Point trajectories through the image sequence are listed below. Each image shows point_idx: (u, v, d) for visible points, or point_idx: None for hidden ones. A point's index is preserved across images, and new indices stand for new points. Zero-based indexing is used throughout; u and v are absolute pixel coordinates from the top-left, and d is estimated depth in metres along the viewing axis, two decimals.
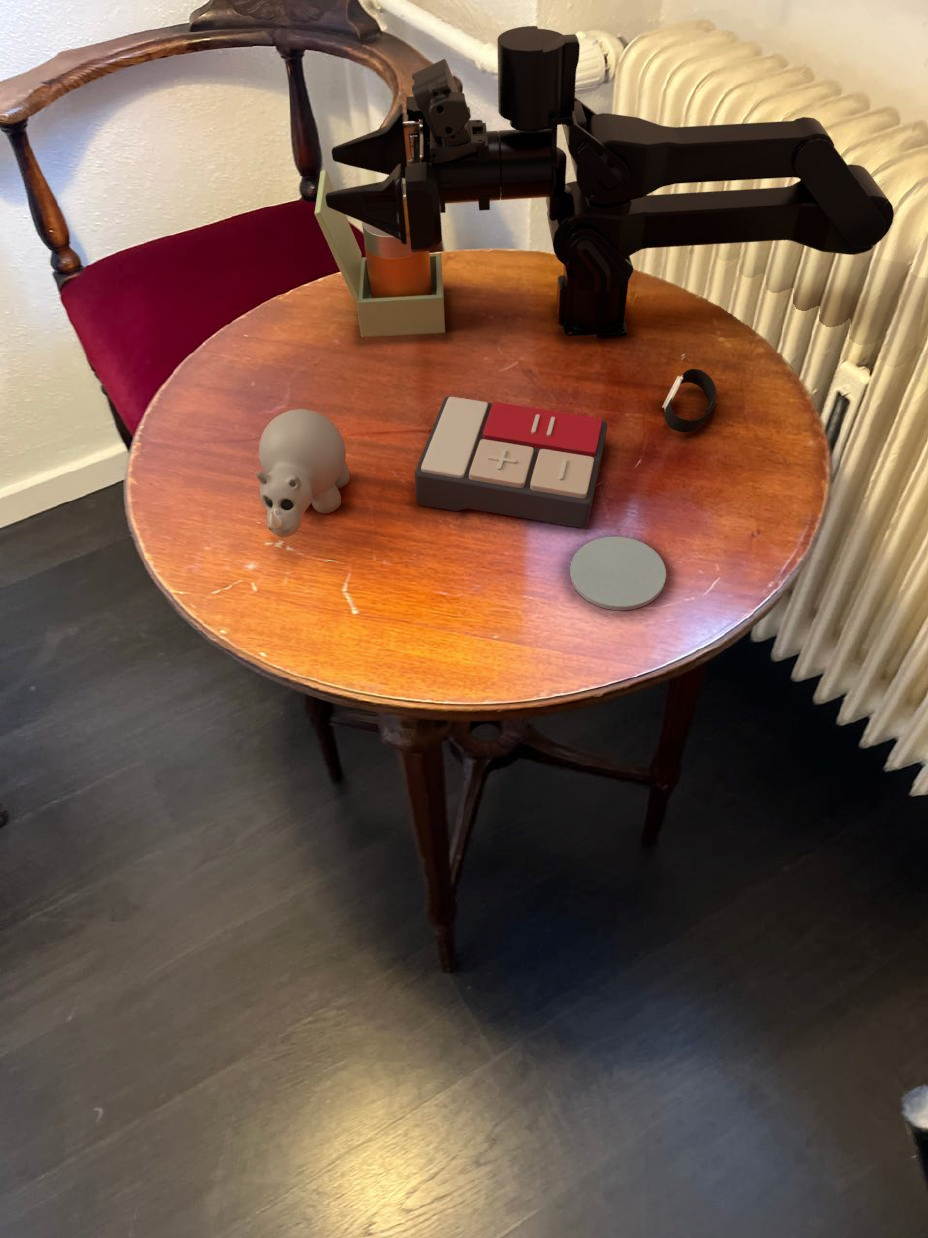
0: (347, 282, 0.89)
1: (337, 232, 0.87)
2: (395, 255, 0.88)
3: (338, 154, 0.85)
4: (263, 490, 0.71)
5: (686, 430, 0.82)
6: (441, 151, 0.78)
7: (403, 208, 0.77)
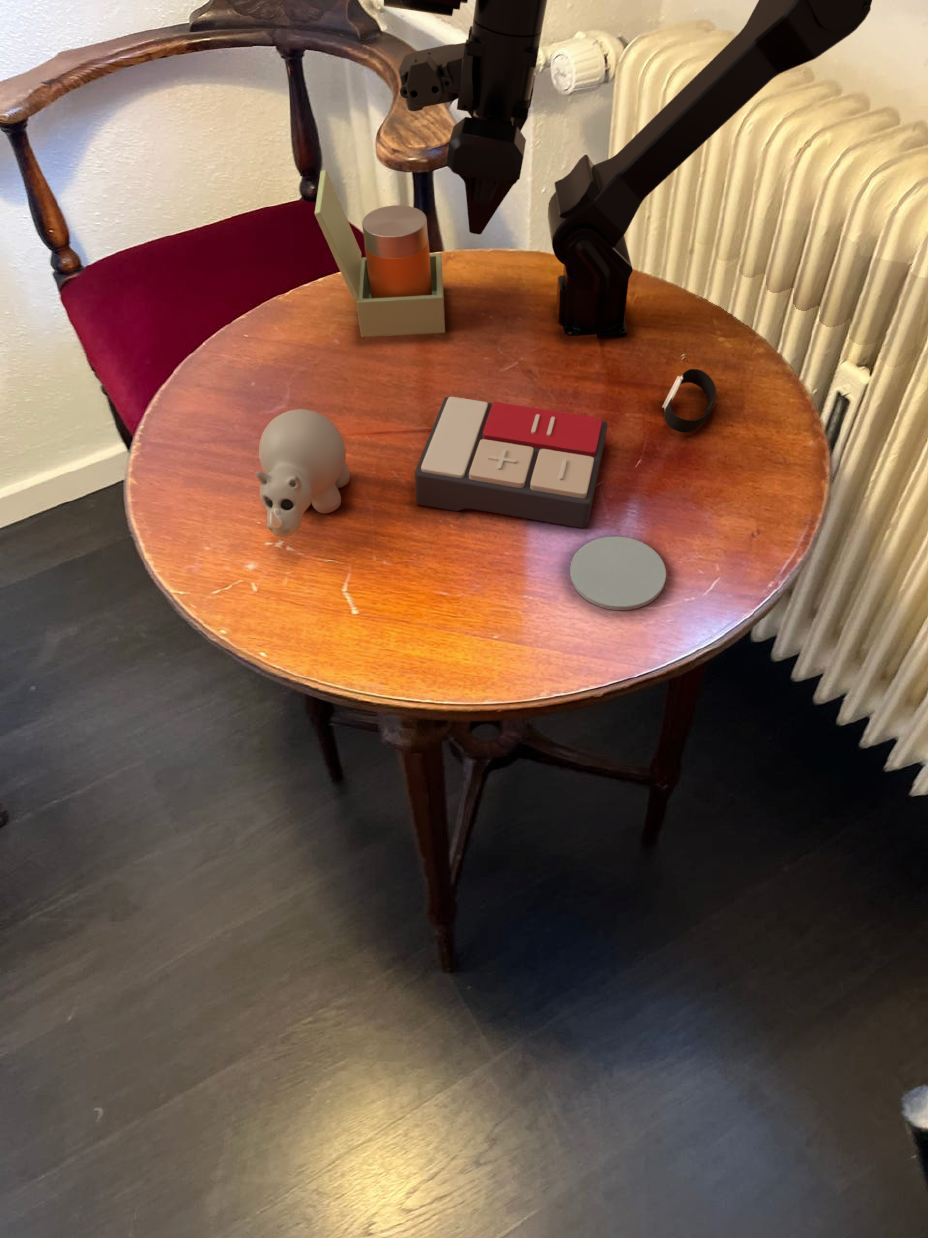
0: (347, 282, 0.89)
1: (337, 232, 0.87)
2: (395, 255, 0.88)
3: None
4: (263, 490, 0.71)
5: (686, 430, 0.82)
6: (462, 98, 0.75)
7: None
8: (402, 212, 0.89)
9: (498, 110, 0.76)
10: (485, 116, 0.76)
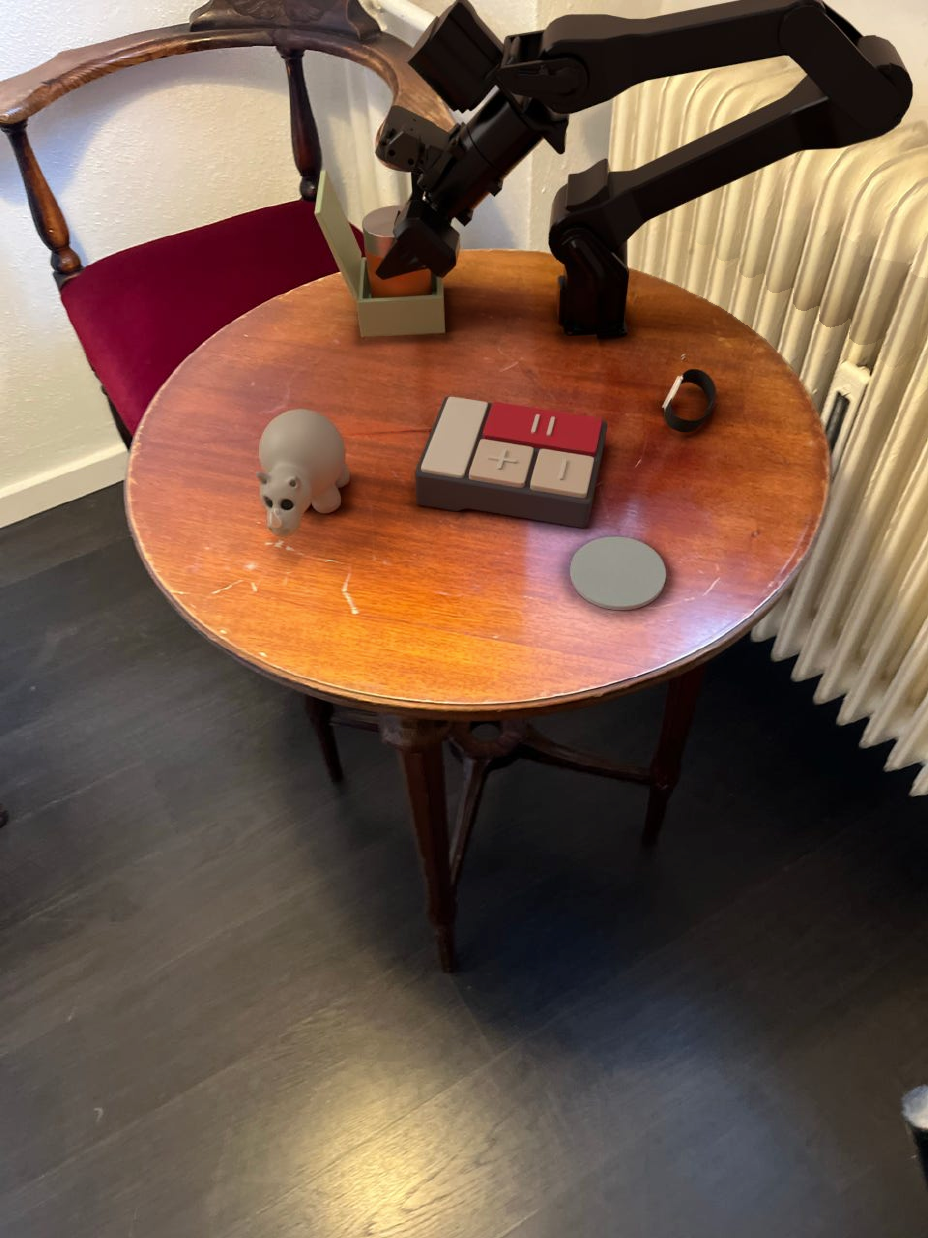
0: (347, 282, 0.89)
1: (337, 232, 0.87)
2: None
3: None
4: (263, 490, 0.71)
5: (686, 430, 0.82)
6: (426, 179, 0.82)
7: None
8: None
9: (448, 206, 0.84)
10: (435, 203, 0.84)
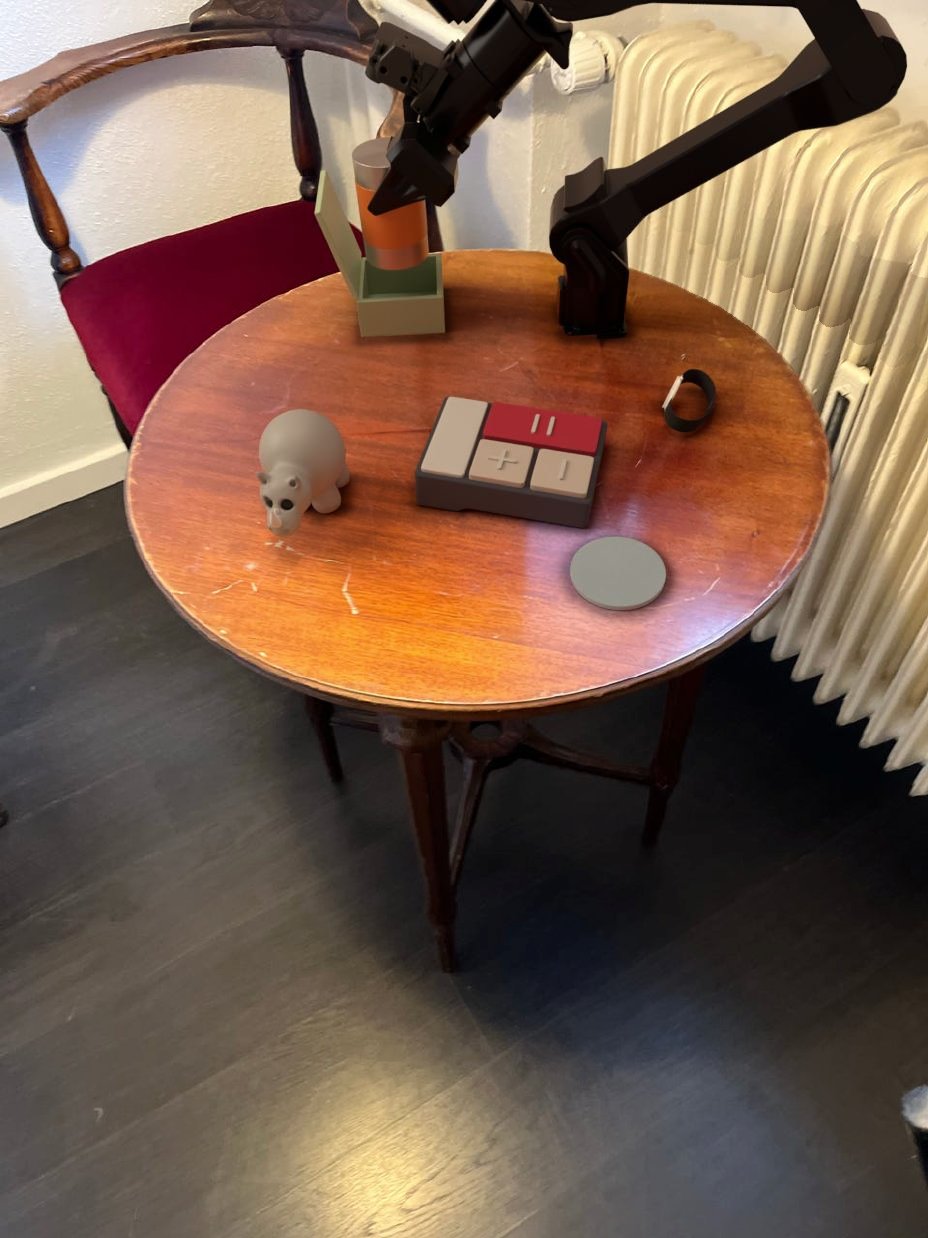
0: (347, 282, 0.89)
1: (337, 232, 0.87)
2: None
3: None
4: (263, 490, 0.71)
5: (686, 430, 0.82)
6: (420, 100, 0.76)
7: None
8: None
9: (444, 131, 0.78)
10: (431, 128, 0.78)
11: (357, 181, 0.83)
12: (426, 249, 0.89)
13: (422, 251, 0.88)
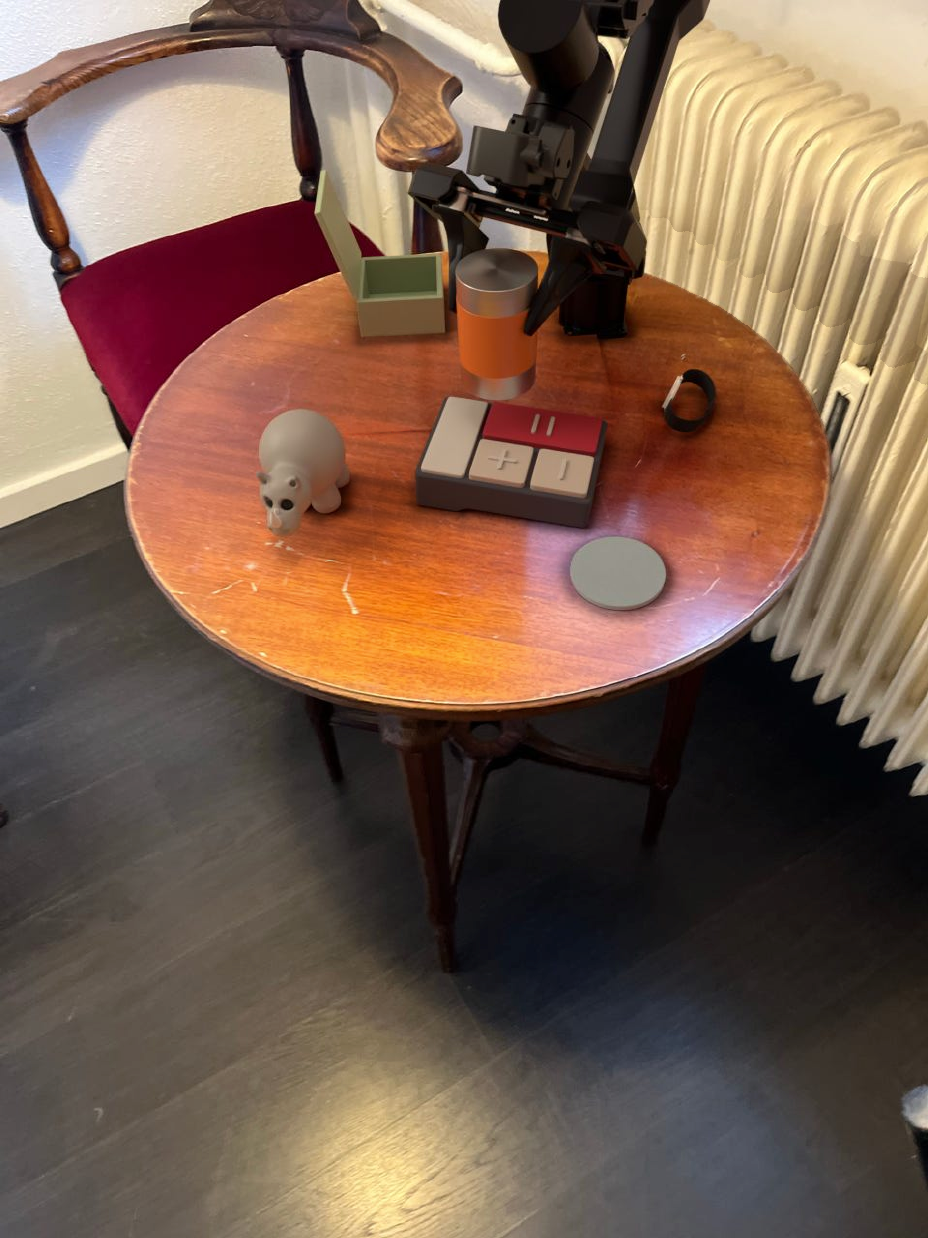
0: (347, 282, 0.89)
1: (337, 232, 0.87)
2: None
3: None
4: (263, 490, 0.71)
5: (686, 430, 0.82)
6: (557, 183, 0.66)
7: None
8: (482, 260, 0.70)
9: (566, 206, 0.69)
10: (559, 210, 0.68)
11: (499, 314, 0.68)
12: None
13: None
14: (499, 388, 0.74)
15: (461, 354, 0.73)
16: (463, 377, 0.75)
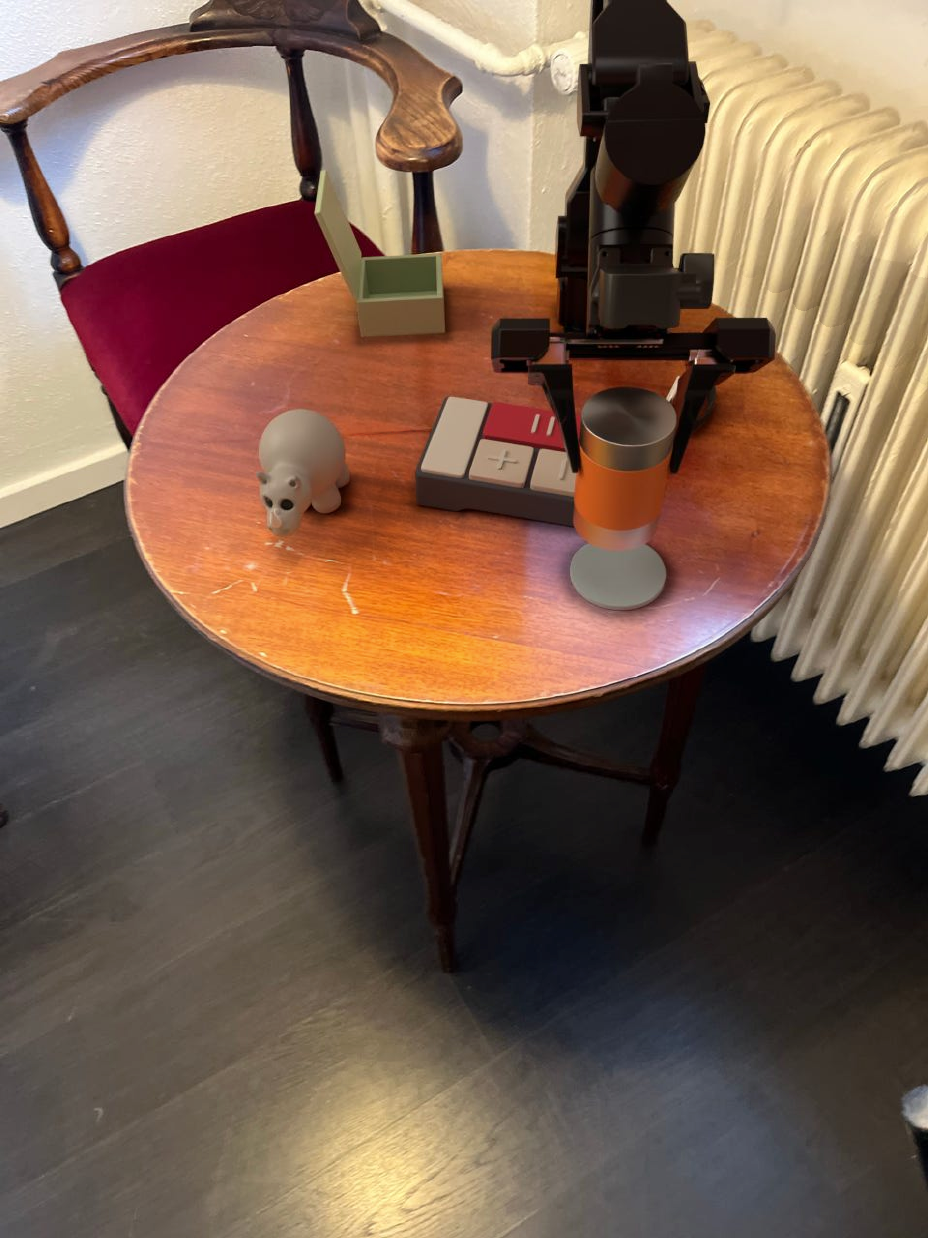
0: (347, 282, 0.89)
1: (337, 232, 0.87)
2: None
3: None
4: (263, 490, 0.71)
5: None
6: None
7: None
8: (603, 409, 0.61)
9: None
10: (670, 334, 0.61)
11: (654, 463, 0.60)
12: None
13: None
14: (641, 535, 0.65)
15: (592, 513, 0.64)
16: (592, 535, 0.66)
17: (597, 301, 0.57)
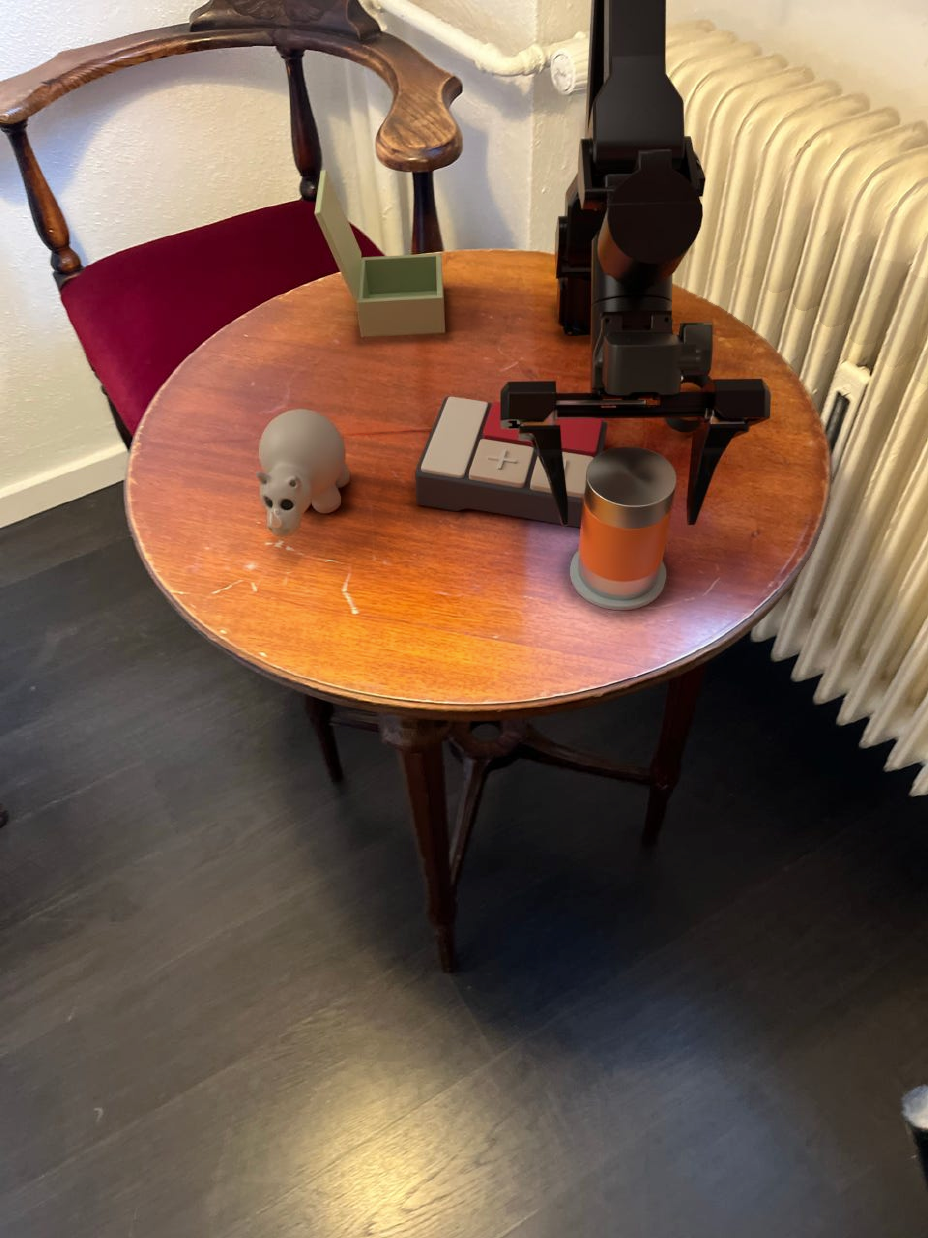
0: (347, 282, 0.89)
1: (337, 232, 0.87)
2: None
3: None
4: (263, 490, 0.71)
5: (686, 430, 0.82)
6: None
7: None
8: (607, 469, 0.64)
9: None
10: None
11: (656, 521, 0.63)
12: None
13: None
14: (644, 585, 0.68)
15: (597, 566, 0.67)
16: (597, 586, 0.69)
17: (601, 366, 0.60)
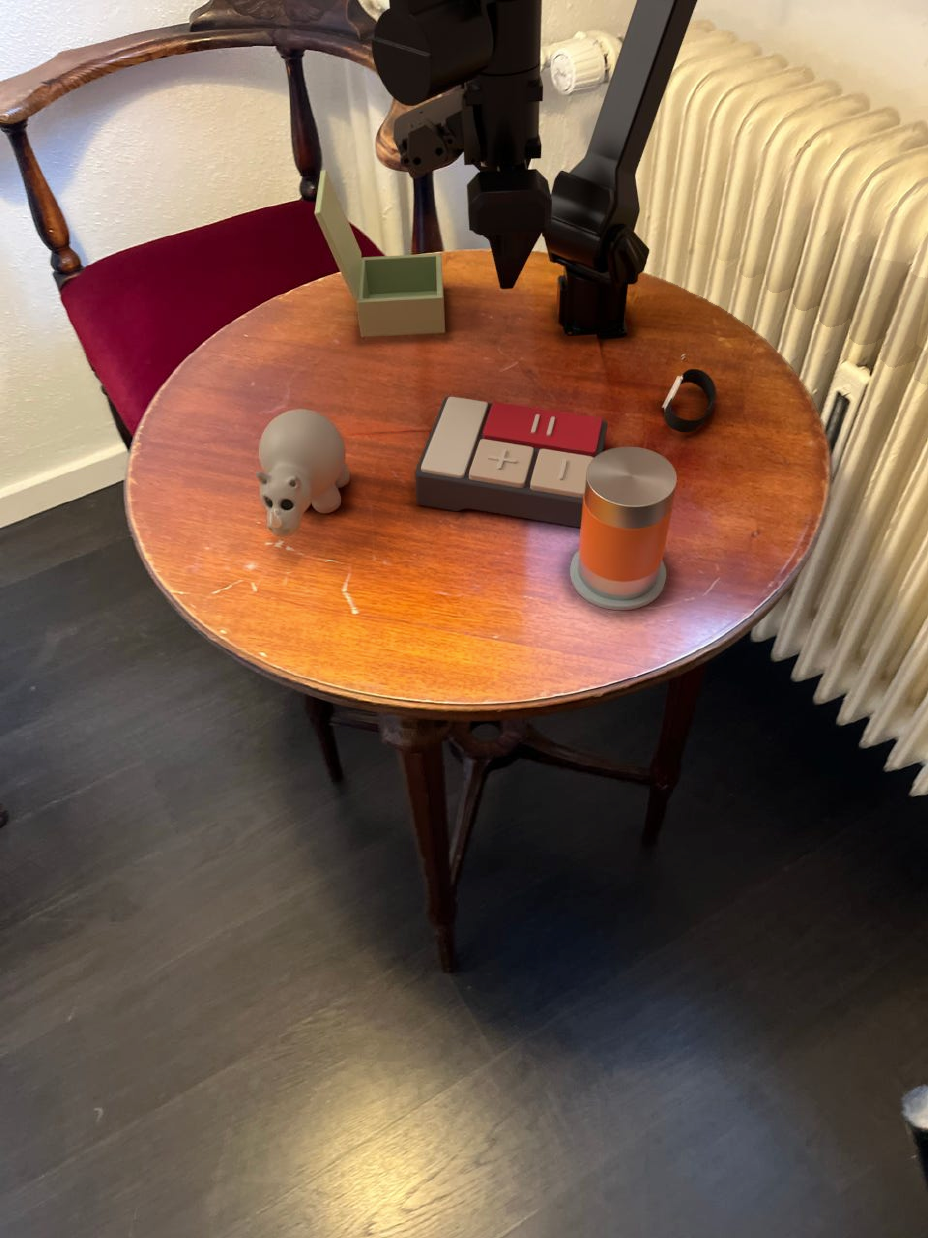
0: (347, 282, 0.89)
1: (337, 232, 0.87)
2: None
3: None
4: (263, 490, 0.71)
5: (686, 430, 0.82)
6: (468, 152, 0.68)
7: None
8: (607, 469, 0.64)
9: (509, 155, 0.69)
10: (496, 165, 0.69)
11: (656, 521, 0.63)
12: None
13: None
14: (644, 585, 0.68)
15: (597, 566, 0.67)
16: (597, 586, 0.69)
17: None
